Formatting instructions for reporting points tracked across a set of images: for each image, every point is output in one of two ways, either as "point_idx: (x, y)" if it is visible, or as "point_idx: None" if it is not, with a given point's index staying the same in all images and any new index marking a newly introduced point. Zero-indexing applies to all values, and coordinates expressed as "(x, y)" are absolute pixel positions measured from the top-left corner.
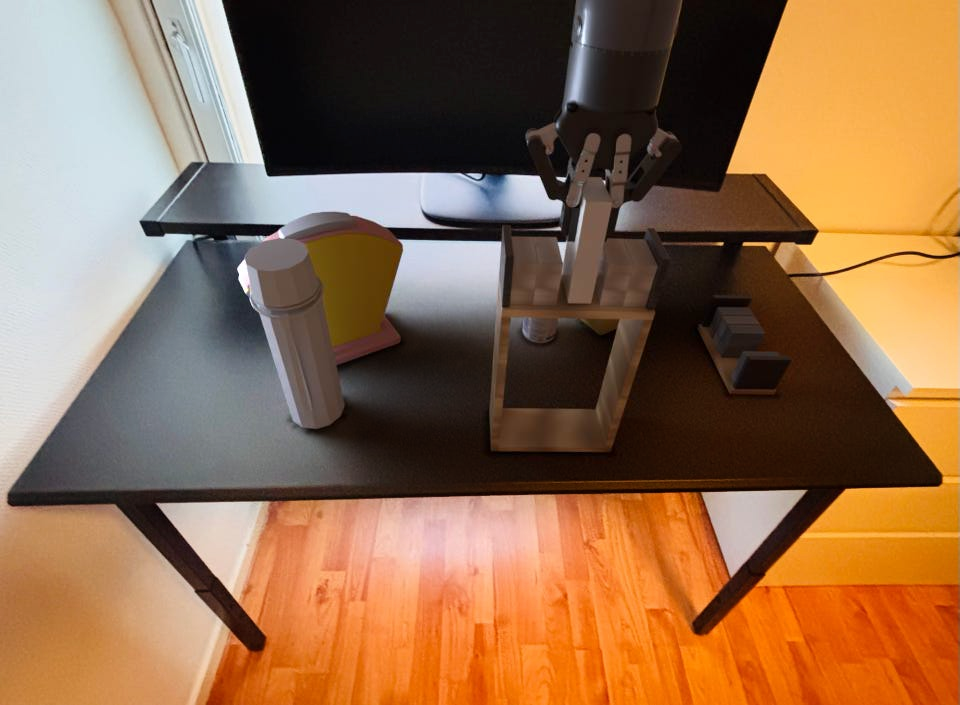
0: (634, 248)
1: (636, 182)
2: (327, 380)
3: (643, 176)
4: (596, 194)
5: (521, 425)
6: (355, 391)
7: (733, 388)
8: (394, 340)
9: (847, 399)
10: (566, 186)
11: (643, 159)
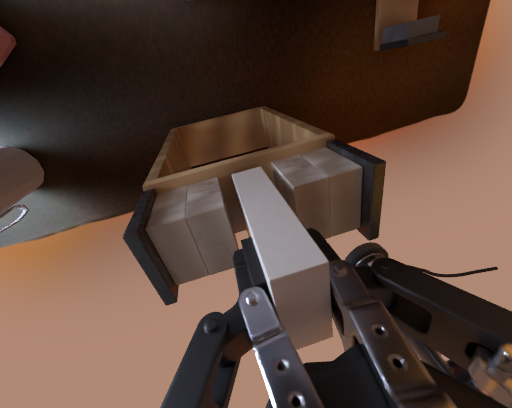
0: (340, 199)
1: (397, 295)
2: (10, 197)
3: (415, 334)
4: (308, 326)
5: (202, 142)
6: (30, 134)
7: (378, 48)
8: (8, 47)
9: (462, 34)
10: (250, 341)
11: (451, 316)
